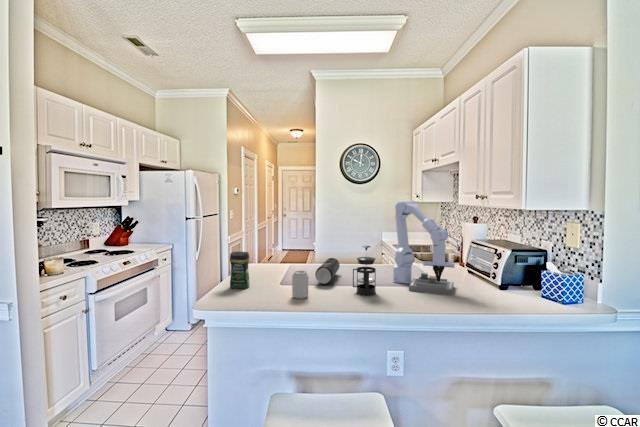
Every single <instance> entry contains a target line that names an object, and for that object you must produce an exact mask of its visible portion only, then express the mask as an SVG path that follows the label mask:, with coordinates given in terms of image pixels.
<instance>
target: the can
mask: <svg viewBox="0 0 640 427" xmlns="http://www.w3.org/2000/svg"><path fill="white" fill-rule="evenodd" d="M291 276H292V277H291V279H292V281H291V282H292V285H291V289H292V290H291V291H292V293H291V295H292V297H293V298H294V299H297V300H303V299H307V297H308V296H309V274H308V272H307V271H306V270H295V271H294V272H293V274H292V275H291Z"/></svg>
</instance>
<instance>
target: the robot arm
mask: <svg viewBox="0 0 640 427" xmlns="http://www.w3.org/2000/svg"><path fill="white" fill-rule="evenodd" d="M394 207H395V216H394V218H395V226H396V235H397V236H396V237H397V244H398V248H397V250H396V251H395V255H394V256H395V257H394V262H395V264H394V265H393V276H392V277H393V278H392V283H399V284H409V285H410V283H411V282H412V280H413V279H412V270H413V269H412V266H413V264H414V263H415V255H414V252H413V249H412V248H410V245H409V236H408V235H409V234H408V228H407V226H408V225H407V218H408V217H409V215H411V214H412V215H413V216H414V217H415V218H416V219H417V220H418V221H420V222H421V223H422V227H423V229H425V231H426V232H427V233H428V234H429V235H430V240H431V241H432V242H431V243H432V261H429V260H428V261H423V264H422V265H423V267H425V266H428V267H432V270H433V272H434V276H436V278H437V282H440V279H441V278H442V274H443V271H444V270H445V268H452V269H455V268H456V267H455V265H456V264H455V263H453V262H447V261H446V240H447V239H448V238H449V233H448V231H447V229H445V228H442V227H441V226H440V225H438V224H437V223H436V222H435V219H432V218H428V217H427V216H426V214H425V213H424V212H423V211H422V210H421V209H420V207H419V206H418V203H416V202H415V201H414V200H399V201H397V203H396V204H395V205H394Z"/></svg>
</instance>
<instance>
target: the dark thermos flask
mask: <svg viewBox="0 0 640 427" xmlns="http://www.w3.org/2000/svg"><path fill="white" fill-rule="evenodd" d="M340 266H341V265H340V262H339V260H338V259H336V258H334V257H329V258H327V259H326V260H325V261H324V262H323V263H322V264H321V265H320V266H319V267H318V268H317V269H316V271H315V279H316V281H317V282H318V283H320V284H322V285H328V284H329V283H331V282H332V281H333V280H334V278H335V276H336V274H337V272H338V271H339V269H340Z"/></svg>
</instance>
